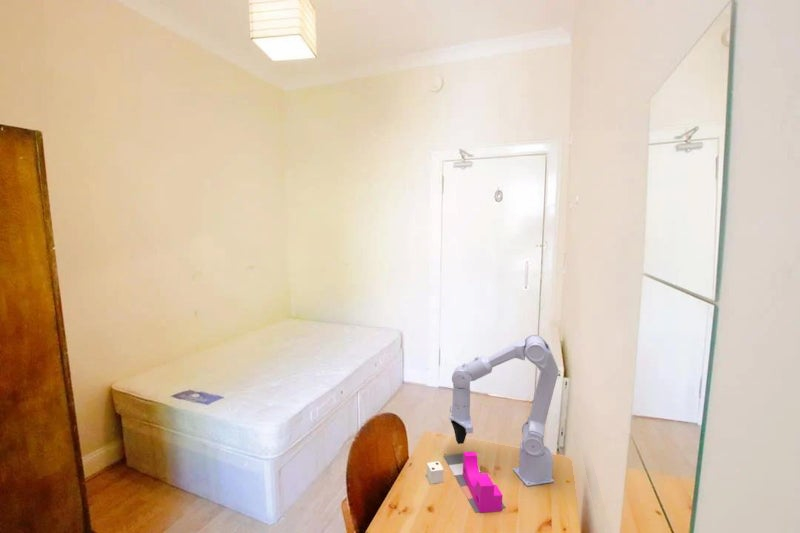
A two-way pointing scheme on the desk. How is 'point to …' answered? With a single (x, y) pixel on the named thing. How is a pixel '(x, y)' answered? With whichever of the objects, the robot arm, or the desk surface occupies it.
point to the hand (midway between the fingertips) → (460, 442)
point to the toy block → (481, 485)
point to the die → (435, 472)
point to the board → (461, 476)
